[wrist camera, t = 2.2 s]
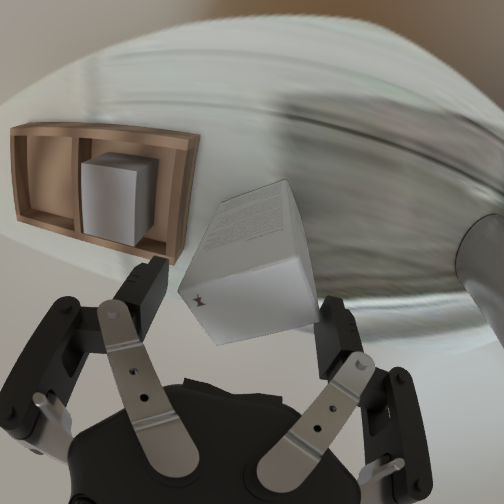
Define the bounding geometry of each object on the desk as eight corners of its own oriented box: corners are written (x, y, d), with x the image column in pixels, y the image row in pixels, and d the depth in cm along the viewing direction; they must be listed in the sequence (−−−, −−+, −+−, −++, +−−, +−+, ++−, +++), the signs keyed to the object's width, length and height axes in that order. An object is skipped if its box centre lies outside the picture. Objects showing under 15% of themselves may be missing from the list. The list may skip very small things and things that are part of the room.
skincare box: (240, 244, 25) (212, 348, 15) (219, 201, 23) (172, 290, 13) (305, 222, 23) (323, 324, 13) (288, 176, 21) (298, 253, 11)
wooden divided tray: (200, 134, 20) (179, 144, 16) (184, 248, 26) (166, 279, 21) (29, 122, 20) (-4, 132, 15) (33, 209, 25) (6, 228, 21)
